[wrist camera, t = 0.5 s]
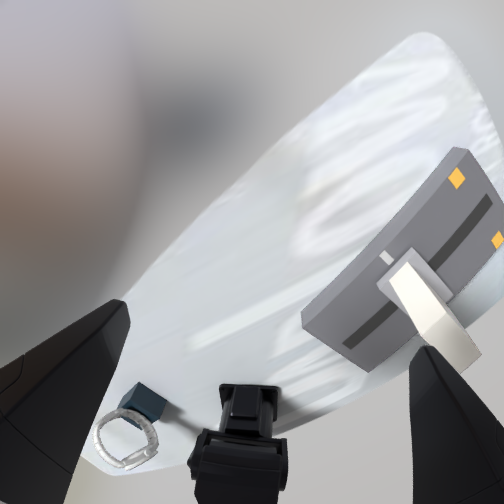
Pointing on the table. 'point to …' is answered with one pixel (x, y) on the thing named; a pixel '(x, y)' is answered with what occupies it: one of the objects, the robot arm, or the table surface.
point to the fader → (429, 308)
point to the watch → (141, 416)
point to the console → (396, 245)
